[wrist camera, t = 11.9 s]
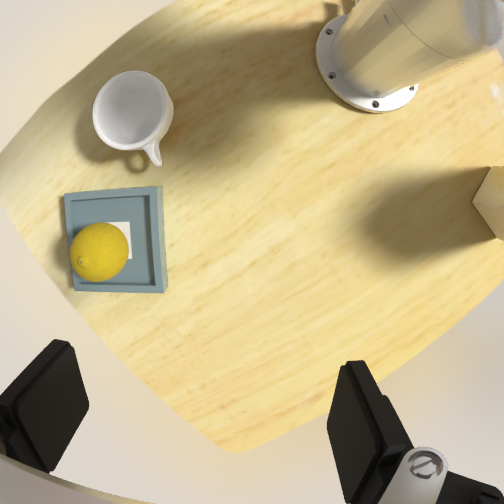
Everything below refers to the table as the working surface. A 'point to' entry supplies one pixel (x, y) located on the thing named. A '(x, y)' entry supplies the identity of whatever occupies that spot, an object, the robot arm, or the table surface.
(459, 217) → the table surface
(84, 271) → the lemon
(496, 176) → the beige rectangular block
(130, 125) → the teacup
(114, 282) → the tray
